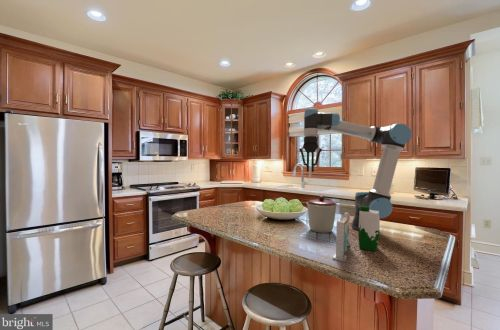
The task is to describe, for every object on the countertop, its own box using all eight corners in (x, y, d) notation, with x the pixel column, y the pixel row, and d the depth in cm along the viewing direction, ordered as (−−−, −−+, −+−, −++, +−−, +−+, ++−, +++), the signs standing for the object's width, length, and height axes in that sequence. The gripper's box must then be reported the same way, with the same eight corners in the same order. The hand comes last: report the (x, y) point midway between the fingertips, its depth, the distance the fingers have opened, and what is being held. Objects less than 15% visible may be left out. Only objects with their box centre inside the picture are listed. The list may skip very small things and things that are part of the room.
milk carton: (359, 243, 129) (360, 204, 128) (379, 247, 124) (380, 206, 123) (356, 248, 121) (358, 207, 121) (377, 252, 116) (379, 209, 116)
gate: (343, 243, 125) (343, 217, 125) (347, 243, 124) (348, 217, 124) (337, 253, 111) (338, 224, 111) (342, 254, 110) (343, 224, 110)
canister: (307, 234, 144) (308, 197, 143) (304, 226, 162) (304, 193, 161) (340, 235, 142) (341, 198, 141) (333, 227, 160) (333, 194, 159)
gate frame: (341, 242, 130) (342, 211, 129) (351, 244, 127) (352, 212, 127) (332, 259, 108) (333, 222, 107) (345, 261, 105) (346, 223, 105)
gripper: (322, 136, 146) (321, 177, 146) (299, 137, 148) (298, 177, 149) (323, 135, 138) (322, 178, 139) (298, 135, 141) (298, 177, 142)
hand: (310, 177), depth 144 cm, fingers closed
